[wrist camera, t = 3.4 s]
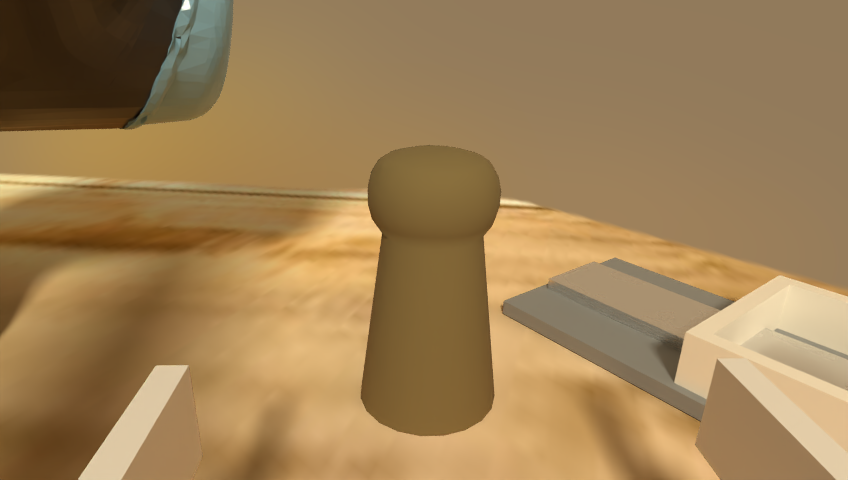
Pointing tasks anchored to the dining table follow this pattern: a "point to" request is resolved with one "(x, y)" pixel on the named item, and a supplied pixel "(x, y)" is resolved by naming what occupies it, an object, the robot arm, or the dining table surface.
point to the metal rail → (682, 318)
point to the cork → (430, 291)
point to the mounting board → (621, 336)
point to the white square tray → (770, 308)
